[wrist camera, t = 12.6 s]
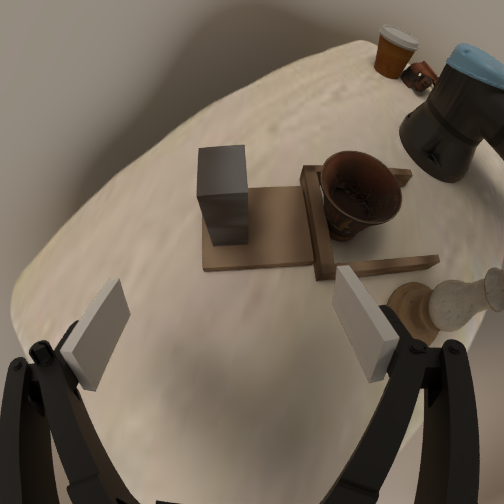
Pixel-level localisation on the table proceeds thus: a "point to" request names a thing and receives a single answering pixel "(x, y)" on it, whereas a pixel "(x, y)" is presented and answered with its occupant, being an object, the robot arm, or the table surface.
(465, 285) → the candle holder
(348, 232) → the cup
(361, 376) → the table surface
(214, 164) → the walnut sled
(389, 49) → the disposable coffee cup
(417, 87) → the dark brown arched piece
